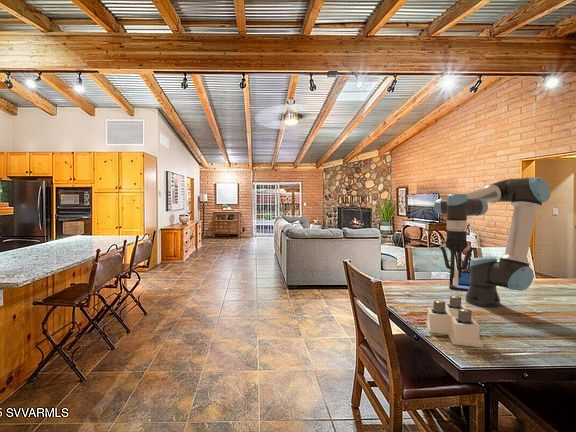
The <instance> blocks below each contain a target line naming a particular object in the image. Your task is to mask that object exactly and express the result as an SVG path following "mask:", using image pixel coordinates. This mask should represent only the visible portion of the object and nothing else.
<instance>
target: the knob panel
mask: <svg viewBox="0 0 576 432" xmlns="http://www.w3.org/2000/svg"><path fill="white" fill-rule="evenodd" d="M461 309H468V308H467V307H466V306H465V305H464V304H462V303H461ZM426 312H427V314H426V316H427V319H426V321H425V322H426V326H427V330H428V333H430V334H431V333H432V334H440V335H448V338H449V340H450V342H451V344H452V345H459V346H466V347H467V346H468V347H476V348H484V343H483V341H482V340H481V339H480V338H481V337H480V332H481V331H480V329H481V326H480V325H479V323H478V321H476V319H475V318H472V320H471V324H462V323H458V309H454V308H450V302H445V314H435V313H433V307H427V311H426Z"/></svg>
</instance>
